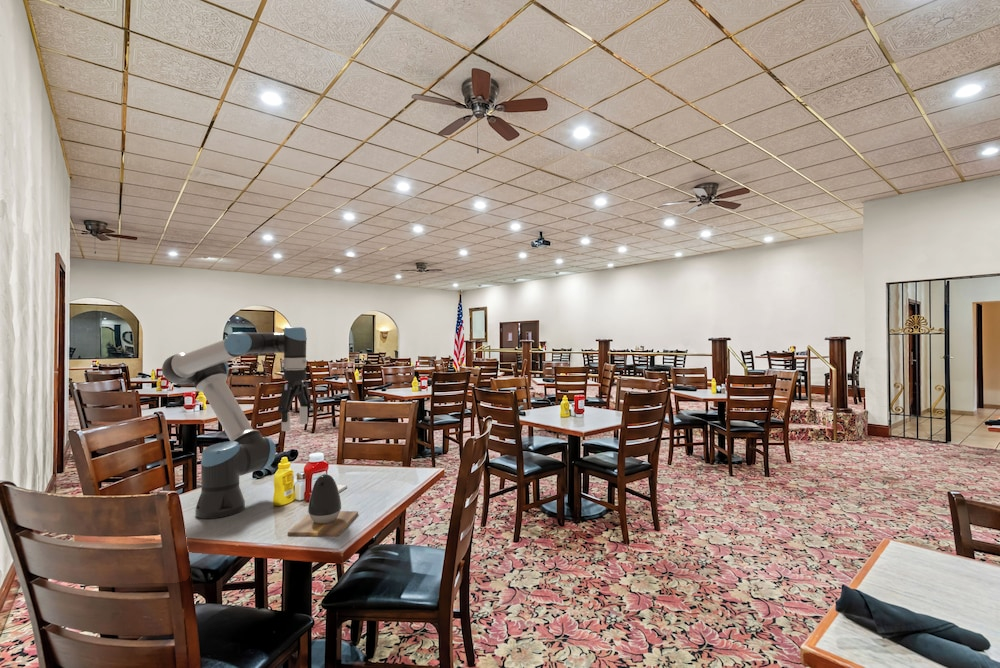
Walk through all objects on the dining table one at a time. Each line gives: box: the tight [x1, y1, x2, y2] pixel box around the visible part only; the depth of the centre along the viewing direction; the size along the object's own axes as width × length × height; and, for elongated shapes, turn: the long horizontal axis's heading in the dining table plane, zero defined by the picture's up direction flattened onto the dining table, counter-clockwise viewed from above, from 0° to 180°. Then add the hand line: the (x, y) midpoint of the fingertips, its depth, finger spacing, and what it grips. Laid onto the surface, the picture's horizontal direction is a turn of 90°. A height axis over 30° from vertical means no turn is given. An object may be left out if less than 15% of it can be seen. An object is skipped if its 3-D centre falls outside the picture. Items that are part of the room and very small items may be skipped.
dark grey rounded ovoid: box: [307, 473, 342, 524], centre depth 156 cm, size 10×10×15 cm
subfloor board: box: [287, 510, 359, 537], centre depth 156 cm, size 16×18×1 cm
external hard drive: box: [336, 484, 348, 493], centre depth 188 cm, size 2×8×12 cm
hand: (295, 427), depth 173 cm, fingers open, 13 cm apart
